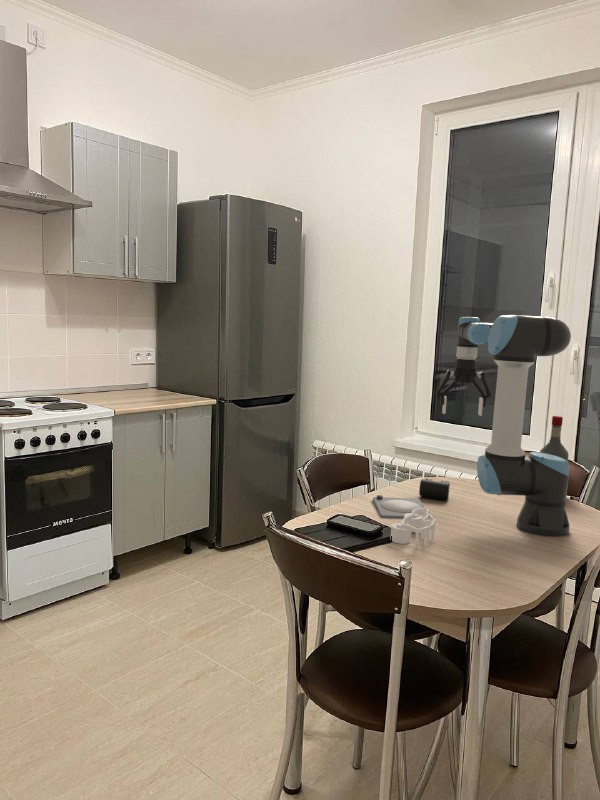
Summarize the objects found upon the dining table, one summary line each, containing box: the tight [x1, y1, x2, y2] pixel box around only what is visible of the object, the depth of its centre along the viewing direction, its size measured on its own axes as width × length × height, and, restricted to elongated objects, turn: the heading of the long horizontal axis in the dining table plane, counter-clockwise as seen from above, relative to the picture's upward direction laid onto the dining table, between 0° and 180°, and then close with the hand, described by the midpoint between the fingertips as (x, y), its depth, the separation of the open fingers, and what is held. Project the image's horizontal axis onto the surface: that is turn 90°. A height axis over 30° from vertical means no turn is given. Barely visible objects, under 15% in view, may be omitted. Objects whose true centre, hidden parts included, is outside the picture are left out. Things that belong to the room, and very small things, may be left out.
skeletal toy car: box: [390, 507, 436, 550], centre depth 179 cm, size 20×11×7 cm, turn 152°
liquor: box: [539, 415, 569, 463], centre depth 232 cm, size 9×9×30 cm
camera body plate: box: [372, 494, 426, 519], centre depth 207 cm, size 20×16×2 cm
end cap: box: [418, 478, 451, 502], centre depth 222 cm, size 10×7×7 cm
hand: (461, 414), depth 236 cm, fingers open, 13 cm apart
